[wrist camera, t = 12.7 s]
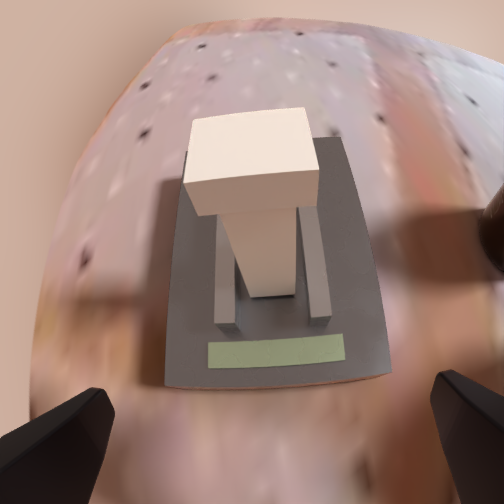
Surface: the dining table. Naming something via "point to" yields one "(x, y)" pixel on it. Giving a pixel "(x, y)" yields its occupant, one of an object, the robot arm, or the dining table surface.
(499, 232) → the supplement bottle
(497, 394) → the robot arm
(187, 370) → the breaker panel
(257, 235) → the handle
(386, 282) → the dining table surface
